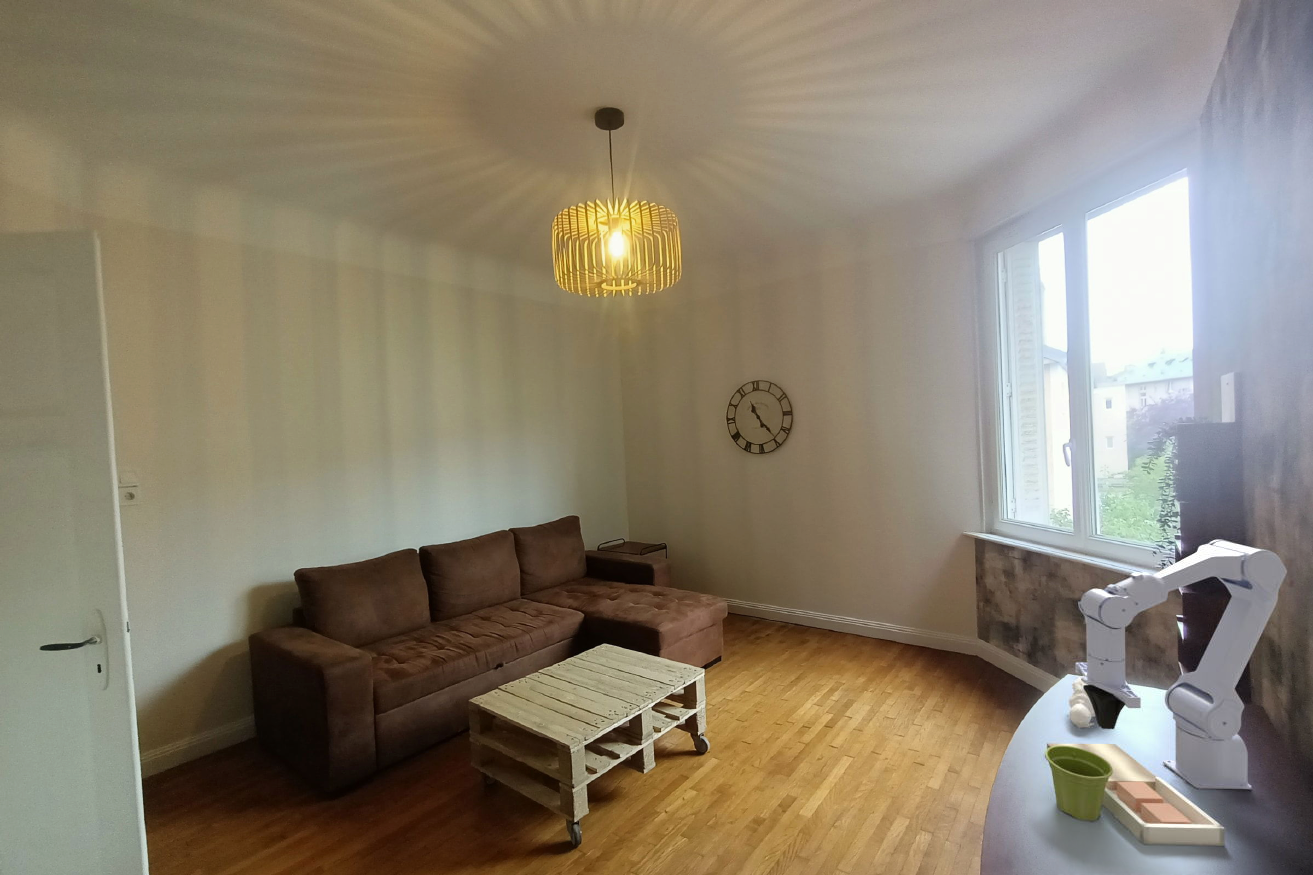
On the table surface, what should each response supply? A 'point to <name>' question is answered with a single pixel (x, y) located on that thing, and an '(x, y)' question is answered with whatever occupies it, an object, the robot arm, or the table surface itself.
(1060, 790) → the plant pot
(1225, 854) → the table surface
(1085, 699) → the white figurine
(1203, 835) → the tray
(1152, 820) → the tile
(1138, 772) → the thin cream square panel
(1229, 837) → the table surface
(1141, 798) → the tile
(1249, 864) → the table surface
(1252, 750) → the table surface
